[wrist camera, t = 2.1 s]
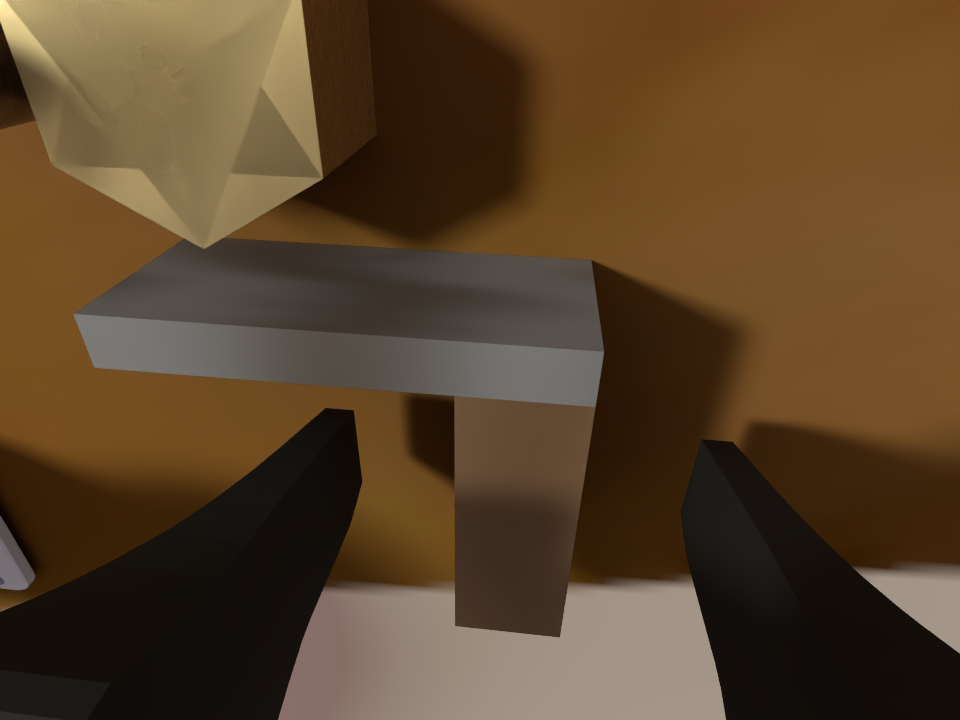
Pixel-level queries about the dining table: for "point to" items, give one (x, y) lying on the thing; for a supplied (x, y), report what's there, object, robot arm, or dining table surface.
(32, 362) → the dining table surface
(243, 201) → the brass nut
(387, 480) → the dining table surface
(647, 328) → the dining table surface
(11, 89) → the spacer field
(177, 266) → the hook tool
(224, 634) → the robot arm
